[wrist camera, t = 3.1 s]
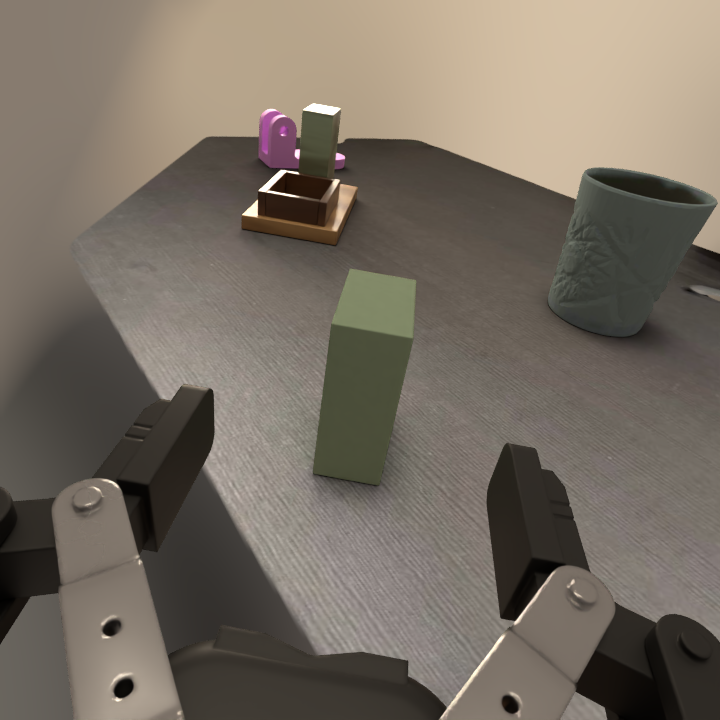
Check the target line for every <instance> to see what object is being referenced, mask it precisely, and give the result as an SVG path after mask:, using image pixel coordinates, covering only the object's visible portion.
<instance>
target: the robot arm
mask: <svg viewBox="0 0 720 720" xmlns="http://www.w3.org/2000/svg"><path fill="white" fill-rule="evenodd" d="M214 430H215V429H214V394H213V390H212V389H210V388H205V387H199V386H194V385H188V384H183V385H182V386H181V387H180V389H179V390H178V392H177V393H176V394H175V396H174V397H173V399H172V400H171V401H170V400H165V399H160V400H158V401H156V402H155V403H153V404H152V405H150V406H149V407H147V408H145V409H144V410H143V411H142V413H141V414H140V415H139V417H138V418H137V419H136V421H135V422H134V425H133V426H131V427H130V428H129V430H128V431H127V433H126V434H125V437H123V438H122V439H121V440H120V442H119V443H118V444H117V446H116V447H115V448H114V450H113V451H112V452H111V453H110V455H109V456H108V458H107V459H106V460H105V461H104V463H103V464H102V465H101V467H100V468H99V469H98V471H97V472H96V473H95V474H94V476H93V477H92V478H91V479H86V480H82V481H79V482H77V483H75V484H73V485H70V486H69V487H67V488H66V489H64V490H63V491H62V492H61V493H60V494H59V495H58V496H57V497H56V498H49V499H39V500H26V501H12V498H11V496H10V493H9V492H8V491H7V490H6V489H4V488H2V487H0V644H1V642H2V641H3V639H4V638H5V636H6V634H7V633H8V631H9V629H10V628H11V626H12V625H13V623H14V622H15V620H16V619H17V617H18V616H19V614H20V612H21V611H22V609H23V608H24V606H25V605H26V603H27V601H28V600H29V598H30V597H31V596H38V595H46V594H54V593H59V602H60V610H61V619H62V627H63V635H64V642H65V651H66V659H67V668H68V676H69V684H70V692H71V700H72V708H73V716H74V720H560V718H561V717H562V715H563V713H564V711H565V709H566V708H567V706H568V704H569V702H570V700H571V699H572V697H573V695H574V693H575V692H577V693H579V694H581V695H583V696H584V697H586V698H588V699H590V700H592V701H594V702H596V703H597V704H599V705H601V706H603V707H605V710H606V715H607V720H720V642H719V641H718V639H717V638H716V637H715V636H714V635H713V634H712V633H711V632H710V631H709V630H707V629H706V628H705V627H704V626H702V625H701V624H699V623H698V622H696V621H694V620H692V619H690V618H688V617H685V616H682V615H677V614H669V615H665V616H663V617H662V618H661V619H660V620H659V621H658V622H657V623H655V622H653V621H651V620H649V619H647V618H645V617H643V616H641V615H638V614H636V613H634V612H632V611H630V610H628V609H626V608H624V607H622V606H620V605H619V604H617V603H616V602H614V599H613V597H612V595H611V593H610V591H609V590H608V588H607V587H606V586H605V584H604V583H603V582H602V581H601V580H600V579H599V578H597V577H596V576H595V575H593V574H592V573H591V572H590V570H589V566H588V563H587V560H586V556H585V553H584V550H583V546H582V543H581V539H580V536H579V533H578V529H577V526H576V523H575V521H574V520H573V518H574V516H573V513H572V509H571V507H569V504H570V503H569V499H568V496H567V493H566V489H565V487H564V485H563V484H562V483H561V481H560V480H559V479H558V477H557V476H556V475H555V474H554V472H553V471H550V470H545V469H541V465H540V461H539V457H538V453H537V451H536V449H535V448H531V447H526V446H520V445H515V444H509V443H506V444H505V445H504V447H503V449H502V452H501V455H500V457H499V460H498V462H497V465H496V467H495V470H494V472H493V475H492V477H491V480H490V483H489V486H488V491H487V512H488V520H489V528H490V536H491V544H492V553H493V561H494V569H495V577H496V585H497V593H498V602H499V610H500V618H501V619H507V620H512V621H516V622H515V623H514V624H513V626H512V627H509V628H508V629H507V630H506V631H505V632H504V634H503V635H502V636H501V638H500V639H499V640H498V642H497V643H496V644H495V646H494V647H493V648H492V650H491V651H490V652H489V654H488V655H487V656H486V658H485V659H484V660H483V662H482V663H481V664H480V666H479V667H478V668H477V670H476V671H475V672H474V674H473V675H472V676H471V678H470V679H469V680H468V682H467V683H466V684H465V686H464V687H463V688H462V690H461V691H460V692H459V694H458V695H457V696H456V698H455V699H454V700H453V702H452V703H451V704H450V706H449V707H448V708H447V707H446V706H445V705H444V704H443V703H442V702H441V701H440V700H439V699H438V697H437V696H436V695H434V694H433V693H432V692H431V691H430V690H429V689H427V688H426V687H425V686H423V685H422V684H420V683H419V682H417V681H416V680H414V679H412V678H410V677H408V661H407V660H401V659H396V658H391V657H386V656H381V655H375V654H370V653H365V652H356V653H343V654H331V655H319V656H313V655H309V654H306V653H304V652H303V651H301V650H298V649H296V648H294V647H292V646H290V645H288V644H286V643H284V642H282V641H280V640H278V639H276V638H274V637H272V636H270V635H268V634H265V633H260V632H255V631H250V630H244V629H239V628H234V627H229V626H223V625H221V627H220V629H219V632H218V635H217V638H216V640H208V641H203V642H198V643H195V644H192V645H189V646H186V647H183V648H181V649H179V650H177V651H175V652H173V653H171V654H169V655H167V652H166V648H165V644H164V641H163V637H162V633H161V629H160V626H159V622H158V618H157V615H156V611H155V607H154V603H153V600H152V596H151V592H150V588H149V585H148V581H147V577H146V573H145V570H144V566H143V563H142V560H141V558H140V557H139V555H140V553H141V551H142V549H144V550H149V551H154V552H158V550H159V548H160V546H161V544H162V542H163V540H164V539H165V537H166V535H167V533H168V531H169V529H170V527H171V525H172V523H173V521H174V519H175V518H176V516H177V514H178V512H179V510H180V508H181V506H182V504H183V502H184V500H185V498H186V497H187V495H188V493H189V491H190V489H191V487H192V485H193V483H194V481H195V480H196V478H197V476H198V474H199V472H200V470H201V468H202V466H203V464H204V462H205V461H206V459H207V457H208V455H209V453H210V450H211V447H212V444H213V440H214Z"/></svg>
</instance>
